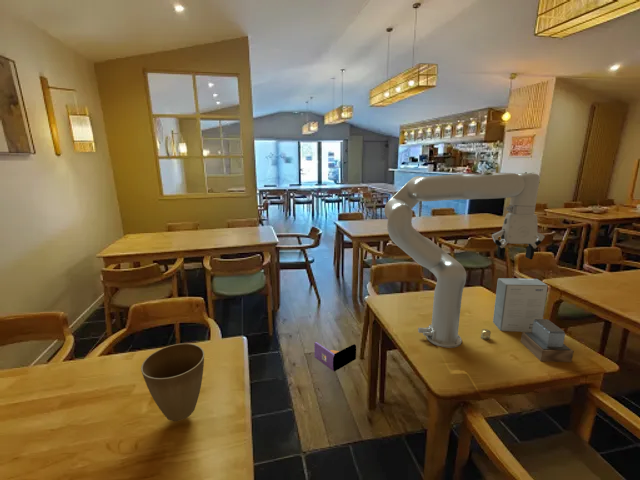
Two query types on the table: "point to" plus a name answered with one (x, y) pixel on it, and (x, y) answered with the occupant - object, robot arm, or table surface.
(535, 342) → the stand
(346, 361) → the miniature room corner
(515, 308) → the hard drive box
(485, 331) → the brass bushing
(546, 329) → the housing
